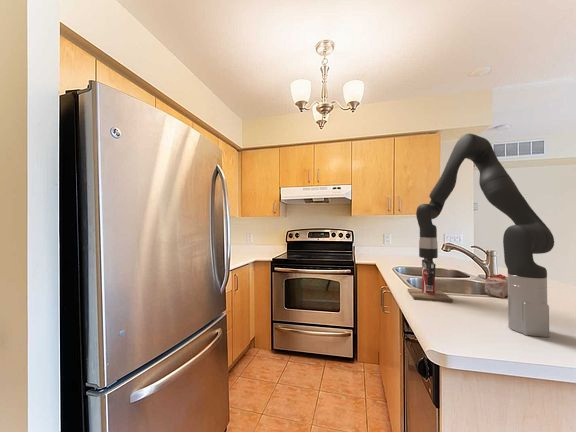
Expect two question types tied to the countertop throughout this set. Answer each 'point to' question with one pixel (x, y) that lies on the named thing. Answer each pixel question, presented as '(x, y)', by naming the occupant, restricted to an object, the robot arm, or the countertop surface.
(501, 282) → the food item
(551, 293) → the countertop surface
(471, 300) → the countertop surface
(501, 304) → the countertop surface
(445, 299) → the walnut board
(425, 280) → the soda can
